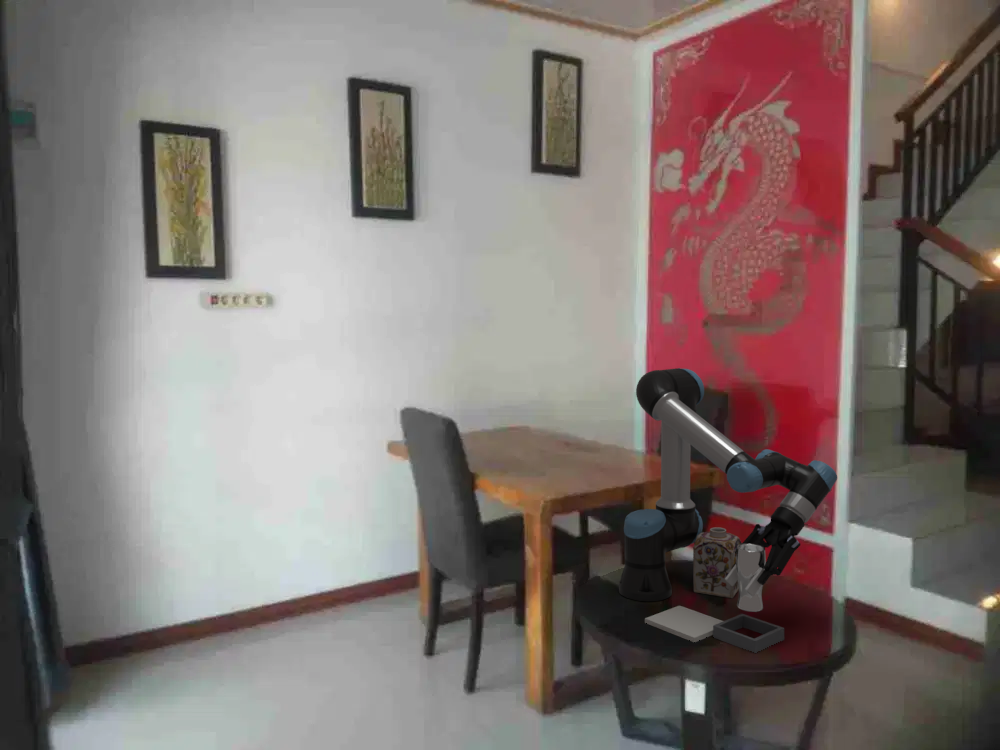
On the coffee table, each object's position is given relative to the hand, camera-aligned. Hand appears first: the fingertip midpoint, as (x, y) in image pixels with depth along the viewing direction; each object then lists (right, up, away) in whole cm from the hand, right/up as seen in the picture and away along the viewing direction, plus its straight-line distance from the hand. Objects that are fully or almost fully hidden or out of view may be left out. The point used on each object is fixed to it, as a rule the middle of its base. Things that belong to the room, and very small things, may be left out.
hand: (738, 587), depth 181 cm
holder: (+3, -13, +3) cm, 14 cm away
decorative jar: (+6, -11, +37) cm, 39 cm away
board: (-10, -13, +11) cm, 20 cm away
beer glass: (+3, -6, +2) cm, 7 cm away
